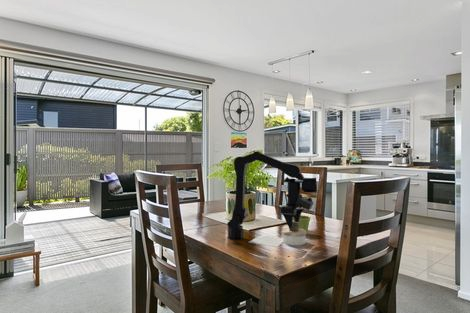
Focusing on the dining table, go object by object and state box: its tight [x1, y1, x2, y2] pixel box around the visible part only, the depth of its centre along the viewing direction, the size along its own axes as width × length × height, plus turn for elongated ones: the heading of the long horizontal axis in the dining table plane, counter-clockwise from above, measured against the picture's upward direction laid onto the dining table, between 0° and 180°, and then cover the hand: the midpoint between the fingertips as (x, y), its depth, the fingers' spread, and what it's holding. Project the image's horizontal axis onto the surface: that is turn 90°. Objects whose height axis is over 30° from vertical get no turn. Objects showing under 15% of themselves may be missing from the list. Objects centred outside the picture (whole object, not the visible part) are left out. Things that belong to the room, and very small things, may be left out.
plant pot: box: [293, 214, 312, 235], centre depth 155 cm, size 9×9×9 cm
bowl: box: [282, 234, 307, 246], centre depth 140 cm, size 10×10×4 cm
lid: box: [281, 221, 307, 237], centre depth 139 cm, size 11×11×5 cm
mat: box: [248, 234, 284, 248], centre depth 142 cm, size 14×14×1 cm
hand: (293, 226), depth 139 cm, fingers open, 9 cm apart
